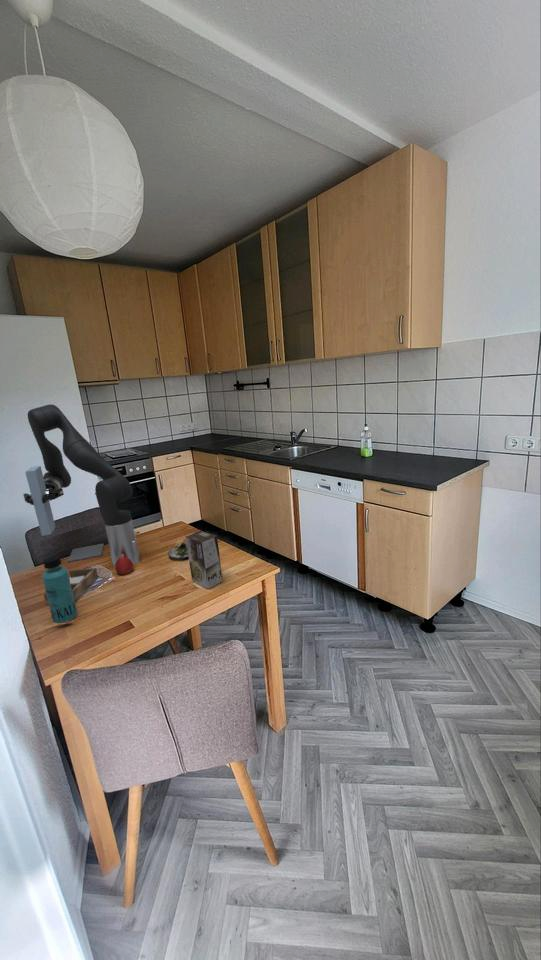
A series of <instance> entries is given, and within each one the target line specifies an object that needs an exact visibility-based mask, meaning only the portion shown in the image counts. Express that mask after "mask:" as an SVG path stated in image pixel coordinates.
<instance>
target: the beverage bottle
mask: <svg viewBox="0 0 541 960" xmlns="http://www.w3.org/2000/svg"><path fill="white" fill-rule="evenodd" d="M43 567H44V569H46V570H45V571H44V572H43V574H42V576H41V577H42V581H43V585H44V590H45V593H46V594H47V598H48V602H49V605H48V607H49V611H50V613H51V619H52V621H53V622H54V623H55V624H65V623H67V622H70V621H72V620H74V619H75V617H77V615H78V609H77V604H76V603H77V602H75V601H74V596H73V595H74V594H73V592H72V588H71V584H70V580H69V579H70V575H69V572H68V571H69V570H68V569H67V568H66V567H65V566H62V560H61V558H60V556H59V555H54V556H53V555H52V556H48V557H46V558H45V559H43Z"/></svg>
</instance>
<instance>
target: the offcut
mask: <svg viewBox="0 0 541 960" xmlns="http://www.w3.org/2000/svg"><path fill="white" fill-rule="evenodd" d="M84 577H85V576H79V577H74V578H71V577H69V580H70V584H71V583H79V582H80V581H81V580H82V579H83V578H84Z"/></svg>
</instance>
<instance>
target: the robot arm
mask: <svg viewBox="0 0 541 960" xmlns="http://www.w3.org/2000/svg"><path fill="white" fill-rule="evenodd" d="M27 420H28V424H29V425H30V429H31V431H32V433H33V436H34V439H35V441H36V443H37V445H38V448H39V450H40V453H41V456H42V461H43V464H44V469H45V471H46V472H45V473H44V474H43V478H44V482H45V486H46V491H45V495H43V497H42V503H46V502H47V501H49V502H51V501H52V500H53V501H54V500H56V499H58V498H60V497H62V496H64V490H63V489H64V488H68V487H69V486H70V485H71V484H72V477H71V475H70V473H69V470H68V469H67V468H66V466H65V464H64V459H63V454H64V456H65V457H66V458H67V459H68V460H69V461H70V463H72V465H74V466H75V467H76V468H77V469H80V470H81V471H84V472H86V473H89V474H92V475H94V476H97V477H99V479H102V480H100V481H98V482H97V483H96V484H95V489H94V490H95V497H96V500H97V504H98V507H99V512H100V515H101V517H102V519H103V523H104V528H105V532H106V537H107V541H108V546H109V552H110V556H111V560H112V561H111V562H112V566H113V567H114V568H115V564H116V561H117V560H118V559H119V558H120V557H121V555H122V554H124V556H125V557H128V558H129V559H131V561H132V563H133V565H134V564H138V563H140V553H139V548H138V543H137V536H136V534H135V529H134V523H133V518H132V513H131V511H130V510H126V509H119V508H118V506H117V504H119V503H122V502H124V501H125V502H126V501H127V500H128V499H130V498H131V497H132V495H133V488H132V485H131V483H130V481H129V480H128V479H127V477H125V476H124V474H122V473H121V472H120V471H118V470H117V469H116V468H115V467H114V466H112V465H111V464H110V463H109V462H108V461H107V460H106V459H105V458H103V456H102V454H100V453H99V452H98V451H97V450H96V449H95V448H94V446H93V445H91V443H90V442H89V441H88V440H87V439H85V438H84V436H82V434H81V433H80V432H79V431H77V429H76V428H75V427H74V425H73V424H72V423H71V422H70V420H69V419H68V418H67V417H66V415H65V414H64V413H63V411H62V410H60V408H59V407H58V406H56V405H55V404H51V403H50V404H46V405H43V406H38V407H34V408H32V409H30V410H28V411H27ZM55 429H59V430H60V431H61V432H62V438H63V439H62V451H63V454H62V451H61V450H60V448H59V447H58V446H56V444H54V443H53V442H51V441H50V440H49V439H48V438H47V436H45V433H46V432H50V431H52V430H55ZM22 496H23V499H24V501H25V503H27V504H29V505H30V506H34V503H33V499H32V496H31V494H30V493H23V494H22Z"/></svg>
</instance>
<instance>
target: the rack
mask: <svg viewBox="0 0 541 960" xmlns="http://www.w3.org/2000/svg"><path fill="white" fill-rule="evenodd" d="M68 571H69V572H68V573H69V577H70V578H74V577H79V576H85V577H84V578H83V579H82V580H81V581H80V582H79V583H71V588H72V592H73V594H74V595H73V596H74V601H75V602H76V603H77V602H78V601H79V600H80V599H81V597H83V595H84V594H85V593H86V592H87V591H88V590H89V589H90V588H91V587H92V586H93V584H95V582H96V581H97V580H98V579H99V576H98V572H97V567H96V568H95V567H93V568H91V567H90V568H78V569H77V568H75V569H70V570H68ZM43 597H44V601H45V604H46V606H49V602H48V598H47V594H46V592H44V593H43Z"/></svg>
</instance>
